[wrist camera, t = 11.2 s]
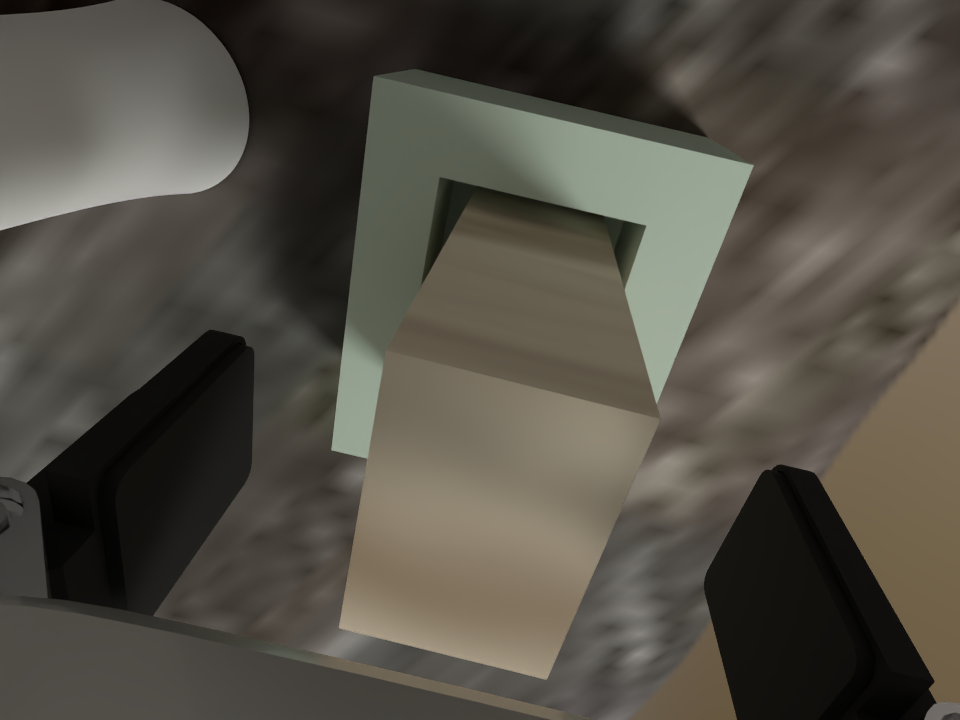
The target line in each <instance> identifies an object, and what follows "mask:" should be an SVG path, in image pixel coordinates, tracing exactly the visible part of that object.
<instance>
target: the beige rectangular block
mask: <svg viewBox="0 0 960 720" xmlns="http://www.w3.org/2000/svg"><path fill="white" fill-rule="evenodd" d="M660 420H661V418H660V415H659V411H658V408H657V404H656V401H655V397H654V394H653V390H652V386H651V383H650V379H649V376H648V372H647V369H646V365H645V361H644V358H643V354H642V351H641V347H640V344H639V340H638V337H637V333H636V329H635V326H634V322H633V319H632V315H631V312H630V308H629V304H628V301H627V297H626V294H625V290H624V287H623V283H622V280H621V276H620V272H619V269H618V265H617V262H616V258H615V255H614V251H613V247H612V244H611V240H610V237H609V233H608V230H607V226H606V223H605V219H604V216H603V215H599V214H595V213H591V212H586V211H582V210H578V209H574V208H569V207H565V206H561V205H557V204H552V203H548V202H544V201H540V200H535V199H531V198H527V197H523V196H518V195H514V194H510V193H506V192H501V191H497V190H493V189H489V188H484V187H480V186H477V187H476V189H475V191H474V193H473V194H472V196H471V198H470V200H469V202H468V203H467V205H466V207H465V209H464V211H463V212H462V214H461V216H460V218H459V220H458V221H457V223H456V225H455V227H454V229H453V230H452V232H451V234H450V236H449V238H448V239H447V241H446V243H445V245H444V247H443V248H442V250H441V252H440V254H439V256H438V257H437V259H436V261H435V263H434V264H433V266H432V268H431V270H430V272H429V273H428V275H427V277H426V279H425V281H424V282H423V284H422V286H421V288H420V290H419V291H418V293H417V295H416V297H415V299H414V300H413V302H412V304H411V306H410V308H409V309H408V311H407V313H406V315H405V317H404V318H403V320H402V322H401V324H400V326H399V327H398V329H397V331H396V333H395V335H394V336H393V338H392V340H391V342H390V344H389V345H388V347H387V349H386V352H385V358H384V364H383V370H382V376H381V382H380V388H379V394H378V399H377V405H376V411H375V417H374V423H373V429H372V435H371V441H370V447H369V453H368V459H367V465H366V471H365V477H364V482H363V488H362V494H361V500H360V506H359V512H358V518H357V524H356V530H355V536H354V542H353V548H352V554H351V560H350V566H349V571H348V577H347V583H346V589H345V595H344V601H343V607H342V613H341V619H340V625H339V628H340V629H344V630H349V631H353V632H357V633H361V634H365V635H369V636H373V637H377V638H381V639H385V640H389V641H393V642H397V643H401V644H405V645H409V646H413V647H417V648H421V649H425V650H429V651H433V652H437V653H441V654H445V655H449V656H453V657H457V658H461V659H465V660H469V661H473V662H477V663H482V664H486V665H490V666H494V667H498V668H502V669H506V670H510V671H514V672H518V673H522V674H526V675H530V676H534V677H538V678H542V679H546V680H547V678H548V676H549V673H550V671H551V669H552V666H553V664H554V662H555V660H556V657H557V655H558V653H559V650H560V648H561V646H562V644H563V641H564V639H565V637H566V634H567V632H568V630H569V628H570V625H571V623H572V621H573V618H574V616H575V614H576V612H577V609H578V607H579V605H580V602H581V600H582V598H583V596H584V593H585V591H586V589H587V586H588V584H589V582H590V580H591V577H592V575H593V573H594V570H595V568H596V566H597V564H598V561H599V559H600V557H601V554H602V552H603V550H604V548H605V545H606V543H607V541H608V538H609V536H610V534H611V532H612V529H613V527H614V525H615V522H616V520H617V518H618V516H619V513H620V511H621V509H622V506H623V504H624V502H625V500H626V497H627V495H628V493H629V490H630V488H631V486H632V484H633V481H634V479H635V477H636V474H637V472H638V470H639V468H640V465H641V463H642V461H643V458H644V456H645V454H646V452H647V449H648V447H649V445H650V442H651V440H652V438H653V436H654V433H655V431H656V429H657V426H658V424H659V422H660Z"/></svg>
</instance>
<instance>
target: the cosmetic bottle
mask: <svg viewBox="0 0 960 720" xmlns="http://www.w3.org/2000/svg"><path fill="white" fill-rule="evenodd" d="M248 131H249V108H248V100H247V96H246V91H245V87H244V84H243V82H242V79H241V76H240V74H239V71H238V69H237V67H236V65H235V63H234V61H233V60H232V58H231V56H230V54H229V53H228V51H227V50H226V48H225V47H224V46H223V44H222V43H221V42H220V40H219V39H218V38H217V37H216V36H215V35H214V34H213V32H212V31H211V30H210V29H208V28H207V27H206V26H205V25H204V24H203V23H202V22H201V21H199V20H198V19H197V18H195V17H194V16H193V15H191V14H190V13H188V12H186V11H185V10H183V9H181V8H179V7H177V6H175V5H173V4H171V3H168V2H165V1H162V0H114V1H110V2H106V3H102V4H96V5H91V6H86V7H80V8H73V9H67V10H59V11H49V12H39V13H24V14H10V15H0V230H3V229H7V228H11V227H14V226H18V225H22V224H26V223H29V222H33V221H37V220H41V219H45V218H48V217H53V216H57V215H61V214H65V213H69V212H73V211H77V210H81V209H86V208H90V207H95V206H99V205H104V204H109V203H114V202H120V201H125V200H131V199H137V198H144V197H151V196H160V195H170V194H188V193H195V192H200V191H203V190H206V189H209V188H211V187H213V186H215V185H216V184H218V183H220V182H221V181H222V180H223V179H225V178H226V177H227V176H228V175H229V174H230V173H231V172H232V171H233V169H234V168H235V167H236V165H237V164H238V162H239V160H240V158H241V156H242V154H243V151H244V149H245V146H246V142H247V137H248Z"/></svg>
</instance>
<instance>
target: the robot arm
mask: <svg viewBox="0 0 960 720" xmlns="http://www.w3.org/2000/svg"><path fill="white" fill-rule="evenodd" d="M253 388H254V350H253V348H252V347H248V346H246V342H245V339H244V338H243V337H241V336H237V335H233V334H228V333H224V332H220V331H216V330H209V331H207V332H205V333H204V334H203V335H202V336H201V337H200V338H198V339H197V340H196V341H195V342H194V343H193V344H191V345H190V346H189V347H188V348H187V349H186V350H184V351H183V352H182V353H181V354H180V355H179V356H177V357H176V358H175V359H174V360H173V361H172V362H170V363H169V364H168V365H167V366H166V367H165V368H163V369H162V370H161V371H160V372H159V373H158V374H156V375H155V376H154V377H153V378H152V379H151V380H149V381H148V382H147V383H146V384H145V385H144V386H142V387H141V388H140V389H138V390H137V391H135V392H134V393H132V394H131V395H129V396H128V397H127V398H126V399H125V400H124V401H122V402H121V403H120V404H119V405H118V406H116V407H115V408H114V409H113V410H112V411H111V412H109V413H108V414H107V415H106V416H105V417H104V418H102V419H101V420H100V421H99V422H98V423H96V424H95V425H94V426H93V427H92V428H91V429H89V430H88V431H87V432H86V433H85V434H84V435H82V436H81V437H80V438H79V439H78V440H77V441H75V442H74V443H73V444H72V445H71V446H69V447H68V448H67V449H66V450H65V451H64V452H62V453H61V454H60V455H59V456H58V457H57V458H55V459H54V460H53V461H52V462H51V463H49V464H48V465H47V466H46V467H45V468H44V469H42V470H41V471H40V472H39V473H38V474H37V475H35V476H34V477H33V478H32V479H31V480H29V481H28V482H27V483H25V482H22V481H19V480H16V479H13V478H6V477H0V720H596V719H592V718H588V717H584V716H580V715H575V714H571V713H567V712H563V711H559V710H554V709H550V708H546V707H542V706H538V705H534V704H529V703H525V702H521V701H517V700H513V699H509V698H504V697H500V696H496V695H492V694H488V693H484V692H479V691H475V690H471V689H467V688H462V687H458V686H454V685H450V684H446V683H441V682H437V681H433V680H429V679H425V678H420V677H416V676H412V675H408V674H404V673H399V672H395V671H391V670H387V669H382V668H378V667H374V666H370V665H365V664H361V663H357V662H352V661H348V660H344V659H340V658H335V657H331V656H327V655H322V654H318V653H314V652H309V651H305V650H301V649H297V648H292V647H288V646H284V645H279V644H275V643H271V642H266V641H262V640H258V639H254V638H249V637H245V636H241V635H236V634H232V633H228V632H223V631H219V630H214V629H209V628H205V627H200V626H195V625H191V624H186V623H181V622H177V621H172V620H168V619H163V618H158V617H154V616H153V615H154V613H155V612H156V610H157V609H158V607H159V606H160V605H161V603H162V602H163V600H164V599H165V597H166V596H167V595H168V593H169V592H170V590H171V589H172V587H173V586H174V584H175V583H176V582H177V580H178V579H179V577H180V576H181V574H182V573H183V572H184V570H185V569H186V567H187V566H188V564H189V563H190V561H191V560H192V559H193V557H194V556H195V554H196V553H197V551H198V550H199V548H200V547H201V546H202V544H203V543H204V541H205V540H206V538H207V537H208V536H209V534H210V533H211V531H212V530H213V528H214V527H215V525H216V524H217V523H218V521H219V520H220V518H221V517H222V515H223V514H224V512H225V511H226V510H227V508H228V507H229V505H230V504H231V502H232V501H233V500H234V498H235V497H236V495H237V494H238V492H239V491H240V489H241V488H242V487H243V485H244V484H245V482H246V480H247V478H248V476H249V473H250V469H251V464H252V430H253ZM704 590H705V595H706V599H707V603H708V607H709V611H710V615H711V619H712V623H713V627H714V631H715V635H716V638H717V642H718V646H719V650H720V654H721V658H722V662H723V666H724V670H725V674H726V677H727V681H728V685H729V689H730V693H731V697H732V701H733V705H734V709H735V713H736V716H737V720H960V704H957V703H951V702H942V703H936V701H935V700H934V698H933V696H932V694H931V692H930V691H929V688H930V686H931V685H932V684H933V683H934V680H933V678H932V676H931V674H930V673H929V671H928V669H927V667H926V666H925V664H924V662H923V661H922V659H921V657H920V655H919V653H918V652H917V650H916V648H915V646H914V645H913V643H912V641H911V639H910V638H909V636H908V634H907V632H906V631H905V629H904V627H903V625H902V624H901V622H900V620H899V618H898V617H897V615H896V613H895V612H894V610H893V608H892V606H891V604H890V603H889V601H888V599H887V598H886V596H885V594H884V592H883V590H882V589H881V587H880V585H879V584H878V582H877V580H876V578H875V576H874V575H873V573H872V571H871V570H870V568H869V566H868V565H867V563H866V561H865V559H864V557H863V556H862V555H861V552H860V550H859V549H858V547H857V545H856V543H855V542H854V540H853V538H852V537H851V535H850V533H849V531H848V529H847V528H846V526H845V524H844V523H843V521H842V519H841V517H840V516H839V514H838V512H837V510H836V509H835V507H834V505H833V503H832V501H831V500H830V498H829V496H828V494H827V493H826V491H825V489H824V488H823V486H822V484H821V482H820V480H819V479H818V477H817V476H816V475H815V473H813V472H811V471H807V470H802V469H798V468H794V467H790V466H785V465H777V466H776V467H774V468H773V469H772V470H765V471H764V472H762V474H761V475H760V477H759V479H758V480H757V482H756V484H755V486H754V488H753V489H752V491H751V493H750V495H749V497H748V498H747V500H746V502H745V504H744V506H743V507H742V509H741V511H740V513H739V515H738V516H737V518H736V520H735V522H734V524H733V525H732V527H731V529H730V531H729V533H728V534H727V536H726V538H725V540H724V542H723V543H722V545H721V547H720V549H719V551H718V552H717V554H716V556H715V558H714V560H713V561H712V563H711V565H710V567H709V569H708V571H707V573H706V576H705V581H704Z"/></svg>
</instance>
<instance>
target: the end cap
mask: <svg viewBox="0 0 960 720" xmlns="http://www.w3.org/2000/svg"><path fill="white" fill-rule="evenodd" d="M753 166H754V165H752V164H751V163H749V162H747V161H746V160H744V159H743V158H741V157H739V156H738V155H736V154H734V153H733V152H731V151H729V150H728V149H726V148H724V147H723V146H721V145H719V144H718V143H716V142H715V141H713V140H711V139H710V138H707V137H703V136H699V135H694V134H690V133H686V132H682V131H677V130H673V129H669V128H665V127H660V126H656V125H652V124H648V123H643V122H639V121H635V120H631V119H626V118H622V117H618V116H614V115H609V114H605V113H601V112H597V111H592V110H588V109H584V108H580V107H575V106H571V105H567V104H563V103H558V102H554V101H550V100H545V99H541V98H537V97H533V96H528V95H524V94H520V93H516V92H511V91H507V90H503V89H499V88H494V87H490V86H486V85H482V84H477V83H473V82H469V81H465V80H460V79H456V78H452V77H448V76H443V75H439V74H435V73H431V72H426V71H422V70H418V69H411V70H406V71H400V72H394V73H388V74H382V75H376V76H373V85H372V94H371V103H370V112H369V121H368V130H367V139H366V148H365V157H364V165H363V174H362V183H361V192H360V201H359V210H358V219H357V228H356V237H355V246H354V255H353V263H352V272H351V281H350V290H349V299H348V308H347V317H346V326H345V335H344V344H343V352H342V361H341V370H340V379H339V388H338V397H337V406H336V415H335V424H334V433H333V441H332V450H333V451H337V452H342V453H346V454H350V455H354V456H359V457H363V458H367V459H368V453H369V447H370V441H371V435H372V429H373V423H374V417H375V411H376V405H377V399H378V394H379V388H380V382H381V376H382V370H383V364H384V358H385V352H386V349H387V347H388V345H389V344H390V342H391V340H392V338H393V336H394V335H395V333H396V331H397V329H398V327H399V326H400V324H401V322H402V320H403V318H404V317H405V315H406V313H407V311H408V309H409V308H410V306H411V304H412V302H413V300H414V299H415V297H416V295H417V293H418V291H419V290H420V288H421V286H422V284H423V282H424V281H425V279H426V277H427V275H428V273H429V272H430V270H431V268H432V266H433V264H434V263H435V261H436V259H437V257H438V256H439V254H440V252H441V250H442V248H443V247H444V245H445V243H446V241H447V239H448V238H449V236H450V234H451V232H452V230H453V229H454V227H455V225H456V223H457V221H458V220H459V218H460V216H461V214H462V212H463V211H464V209H465V207H466V205H467V203H468V202H469V200H470V198H471V196H472V194H473V193H474V191H475V189H476V187H477V186H480V187H484V188H489V189H493V190H497V191H501V192H506V193H510V194H514V195H518V196H523V197H527V198H531V199H535V200H540V201H544V202H548V203H552V204H557V205H561V206H565V207H569V208H574V209H578V210H582V211H586V212H591V213H595V214H599V215H603V216H604V219H605V223H606V226H607V230H608V233H609V237H610V240H611V244H612V247H613V251H614V255H615V258H616V262H617V265H618V269H619V272H620V276H621V280H622V283H623V287H624V290H625V294H626V297H627V301H628V304H629V308H630V312H631V315H632V319H633V322H634V326H635V329H636V333H637V337H638V340H639V344H640V347H641V351H642V354H643V358H644V361H645V365H646V369H647V372H648V376H649V379H650V383H651V386H652V390H653V394H654V397H655V401H656V404H657V402H658V399H659V397H660V394H661V392H662V389H663V387H664V385H665V382H666V380H667V377H668V375H669V372H670V370H671V367H672V365H673V362H674V360H675V357H676V355H677V353H678V350H679V348H680V345H681V343H682V340H683V338H684V335H685V333H686V330H687V328H688V326H689V323H690V321H691V318H692V316H693V313H694V311H695V308H696V306H697V303H698V301H699V299H700V296H701V294H702V291H703V289H704V286H705V284H706V281H707V279H708V276H709V274H710V271H711V269H712V267H713V264H714V262H715V259H716V257H717V254H718V252H719V249H720V247H721V244H722V242H723V240H724V237H725V235H726V232H727V230H728V227H729V225H730V222H731V220H732V217H733V215H734V213H735V210H736V208H737V205H738V203H739V200H740V198H741V195H742V193H743V190H744V188H745V185H746V183H747V181H748V178H749V176H750V173H751V171H752V168H753Z"/></svg>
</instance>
